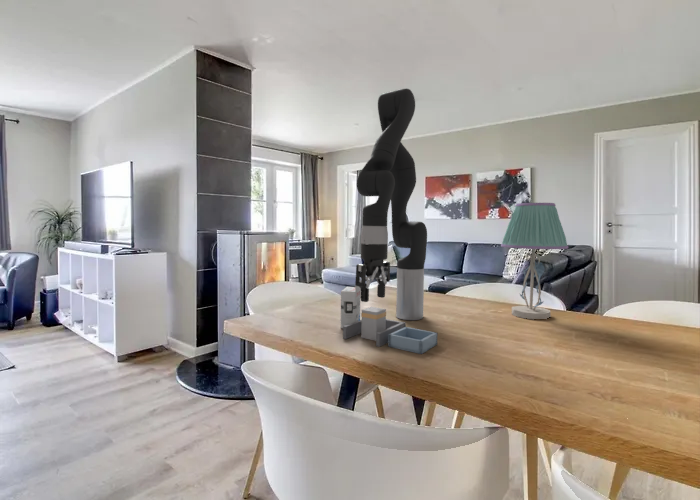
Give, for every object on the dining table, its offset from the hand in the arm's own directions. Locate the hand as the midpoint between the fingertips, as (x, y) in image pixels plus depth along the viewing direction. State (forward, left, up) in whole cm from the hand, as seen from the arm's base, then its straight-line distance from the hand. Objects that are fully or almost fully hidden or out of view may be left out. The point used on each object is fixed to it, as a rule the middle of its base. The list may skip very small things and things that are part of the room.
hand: (373, 299), depth 107 cm
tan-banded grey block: (0, 0, -11) cm, 11 cm away
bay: (0, 0, -11) cm, 11 cm away
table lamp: (-57, +31, -11) cm, 66 cm away
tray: (0, +13, -11) cm, 17 cm away
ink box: (-6, -12, -11) cm, 18 cm away
